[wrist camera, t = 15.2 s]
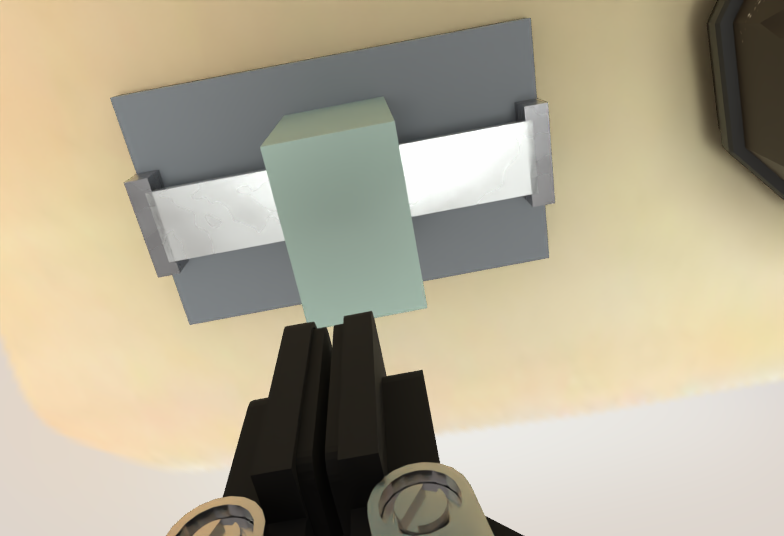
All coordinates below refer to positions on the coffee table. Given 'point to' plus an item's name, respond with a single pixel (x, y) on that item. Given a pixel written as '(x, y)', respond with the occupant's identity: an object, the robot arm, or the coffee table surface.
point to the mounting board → (330, 88)
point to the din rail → (422, 177)
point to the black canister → (750, 84)
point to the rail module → (345, 211)
